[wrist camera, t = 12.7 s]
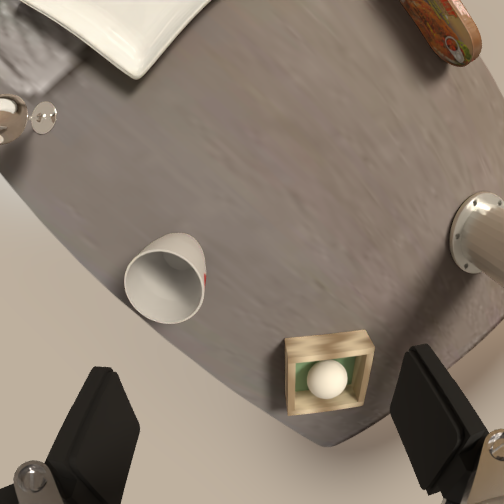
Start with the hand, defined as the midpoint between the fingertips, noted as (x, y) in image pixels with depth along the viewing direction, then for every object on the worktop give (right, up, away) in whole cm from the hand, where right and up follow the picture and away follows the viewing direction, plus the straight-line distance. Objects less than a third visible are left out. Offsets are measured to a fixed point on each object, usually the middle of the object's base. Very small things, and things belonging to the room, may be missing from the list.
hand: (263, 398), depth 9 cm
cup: (-9, +5, +31) cm, 32 cm away
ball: (+11, -14, +35) cm, 39 cm away
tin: (+22, +35, +20) cm, 46 cm away
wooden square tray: (+11, -13, +38) cm, 41 cm away
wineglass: (-27, +22, +24) cm, 42 cm away
